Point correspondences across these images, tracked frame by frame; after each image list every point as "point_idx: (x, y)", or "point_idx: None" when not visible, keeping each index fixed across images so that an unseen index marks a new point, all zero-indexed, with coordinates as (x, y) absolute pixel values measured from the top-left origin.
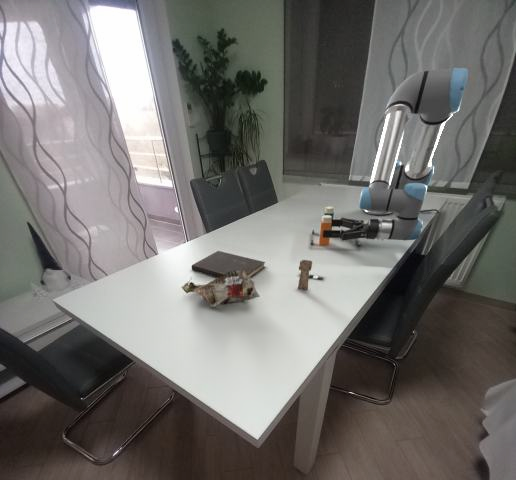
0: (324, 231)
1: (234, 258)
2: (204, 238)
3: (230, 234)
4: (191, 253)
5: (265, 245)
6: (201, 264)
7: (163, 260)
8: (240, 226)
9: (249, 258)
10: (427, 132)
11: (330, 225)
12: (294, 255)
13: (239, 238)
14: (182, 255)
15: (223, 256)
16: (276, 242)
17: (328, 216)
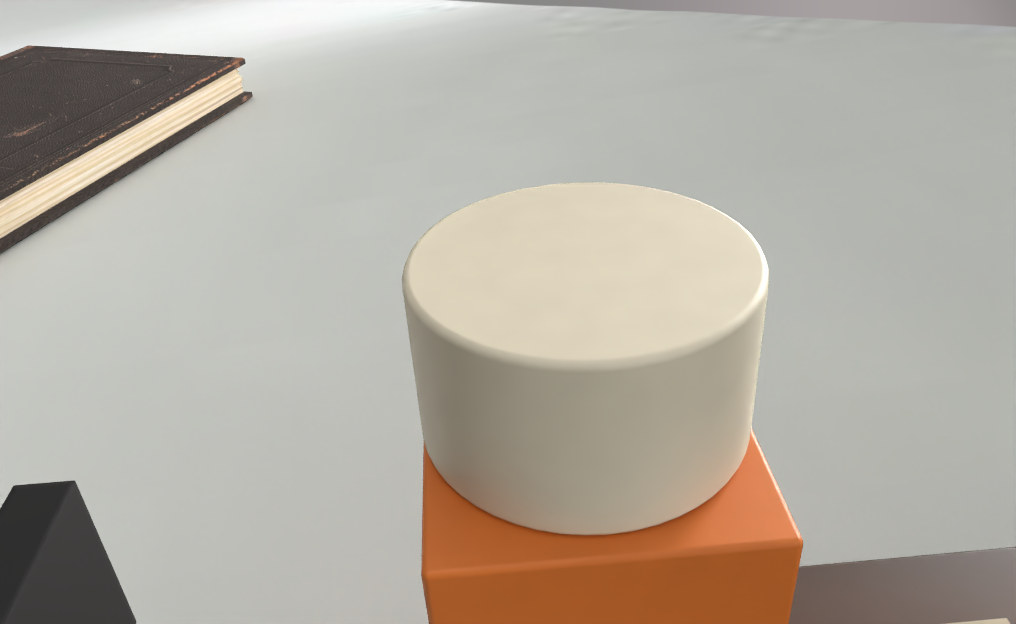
0: (7, 533)
1: (62, 124)
2: (568, 13)
3: (696, 54)
4: (310, 33)
5: None
6: (16, 62)
7: (219, 8)
8: (914, 50)
9: (24, 174)
10: None
11: (434, 614)
12: (191, 472)
13: (630, 93)
14: (281, 23)
15: (124, 88)
16: None
17: (584, 286)
